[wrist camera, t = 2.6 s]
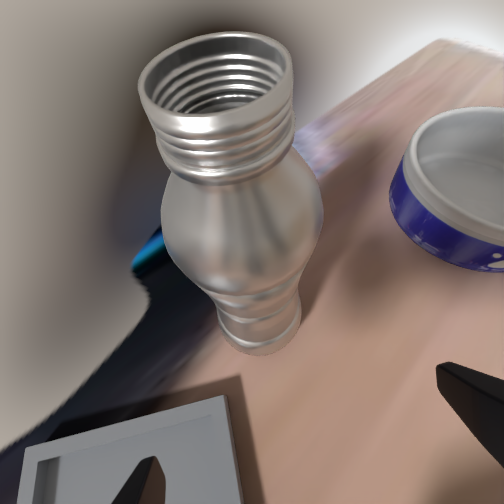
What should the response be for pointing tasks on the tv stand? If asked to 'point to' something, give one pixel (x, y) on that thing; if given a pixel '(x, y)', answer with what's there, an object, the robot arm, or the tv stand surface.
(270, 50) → the plastic bottle
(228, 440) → the grey tray
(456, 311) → the tv stand surface
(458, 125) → the dog bowl
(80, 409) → the tv stand surface
